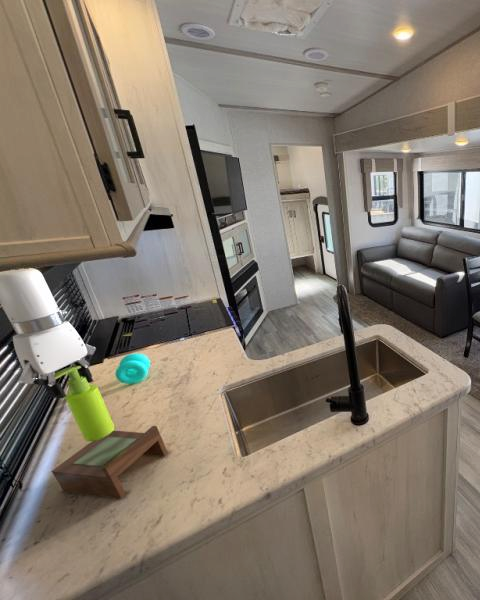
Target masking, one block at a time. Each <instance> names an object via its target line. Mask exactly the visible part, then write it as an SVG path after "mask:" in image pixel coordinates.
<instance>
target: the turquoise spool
mask: <svg viewBox="0 0 480 600" xmlns="http://www.w3.org/2000/svg"><path fill="white" fill-rule="evenodd" d="M150 367H151V360H150V359H149V358H148V356H147V355H145V354H143V353H131V354H130V353H129V354H127V355H126V356H124V357H122V359H121V360H120V362H119V363H118V366H117V368H116V370H115V375H114V376H115V378H116V380H117V381H119V383H122V384H126V385H133V384H137V383H140V382H141V381H144V379H145V378H146V377H147V375H148V372H149V368H150Z"/></svg>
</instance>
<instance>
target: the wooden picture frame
mask: <svg viewBox="0 0 480 600" xmlns="http://www.w3.org/2000/svg"><path fill="white" fill-rule="evenodd" d="M164 442H165V441H164V440H163V438H162V436H161V433H160V431H159V429H158V426H157V425H152V426H151V427H150V428H148V429H147V430H146V431H144V432H135V431H123V430H113V431H112V432H111V433H110V434H109V435H107V436H105V437H103V438H101V439H99V440H95V441H90V442H89V443H87V444H86V445H85V446H84V447H82V448H81V449H80V450H78V451H77V452H75V453H74V454H72V456H70V457H69V458H67V459H66V460H65V461H63V462H61V464H59V465H57V466H56V467H55V468H53V469H52V470H51V473H52V474H53V476H54V478H55V480H56V481H57V483H58V484H59V486H60V487H61V490H62V491H63V492H67V493H76V494H84V495H90V496H91V495H93V496H100V497H107V498H117V499H122V498H123V497H124V496H126V494H127V493H126V491H125V489H124V487H123V485H122V484H121V481H120V480H119V478H118V476H120V475H121V474H122V473H123V472H124V471H125V470H126V469H128V468H129V467H130V466H131V465H132V464H133V463H134V462H135V461H136V460H138V459H139V458H140V457H141V456H142V455H146V456H155V457H166V456H167V455H168V454H169V452H168V450H167V447H166V445H165V443H164Z"/></svg>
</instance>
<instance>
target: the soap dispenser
mask: <svg viewBox="0 0 480 600" xmlns="http://www.w3.org/2000/svg"><path fill="white" fill-rule="evenodd" d="M80 368H81V366H78V365H71V366H69V367H65V368H62V369H60V370H58V371H56V372H55V380H57V379H60V378H61V377H62V376H65V375H68V377H69V379H68V380H67V382H66V384H67V388H68V389H69V391H70V392H68V393H67V394H66V397H64V398H65V400H66V402H67V405H68V407H69V409H70V411H71V413H72V415H73V418H74V420H75V422H76V424H77V426H78V429H79V430H80V433H81V434H82V437H83V439H84V441H85V442H92V441H95V440H99V439H101V438H103V437H105V436H107V435H109V434H110V433H111V432H112V431H115V425H114V422H113V420H112V418H111V417H112V416H111V415H110V412H109V410H108V408H107V406H106V404H105V401H104V399H103V396H102V394H101V392H100V390H99V386H97V385H96V384H90V383H88V381H87V379H86V377H85V376H80V375H79V373H78V370H77V369H80Z"/></svg>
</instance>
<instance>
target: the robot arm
mask: <svg viewBox="0 0 480 600" xmlns="http://www.w3.org/2000/svg"><path fill="white" fill-rule="evenodd" d="M28 268H29V269H24V268H18V269H19V270H15V269H9V270H10V271H9V270H5V271H0V306H1V308H2V309H3V311H4V313H5V315H6V316H7V319H8V320H9V322H10V324H11V325H12V327H13V329H14V332H15V333H16V335H13V336H12V343H13V347H14V351H15V353H16V356H17V358H18V361H19V363H20V366H21V369H22V371H21V374H20V376H19V378H18V381H17V382H18V383H19V384H25V385H28V384H29V385H37V386H43V387H44V388H45V390H46V392H47V393H48V395H49V397H51V398H53V399H64V398H65V397H66V395H67V394H66V392H65V390H64V389H63V387H62V385H61V383H60V382H57V381H56V379H55V373H56V372H58V371H60V370H62V369H64V367H65V368H66V367H67V366H69V365H71V364H72V366H74V365H78V366H81V368H80V369H77V370H78V373H79V375H80V376H85V377H86V379H87V381H88V383H89V384H91V383H93V382H94V379H93V374H92V373H91V371H90V368H89V367H91V364H90V363H91V360H92V358H93V355H94V354H95V352H96V350H97V348H96V347H95V346H93V345H89V344H87V343H84V341H83V338H82V337H81V335H80V334H79V333H78V331H77V330H76V329H75V327H74V326H73V325H72V324H71V323H70V322H69V321H68V320H65V316H67V315H68V311H67V310H66V309H62V310H61V309H60V308H59V306H58V304H57V302H56V299H55V298H54V295H53V293H52V292H51V289H50V287H49V285H48V283H47V282H46V279H45V277H44V275H43V274H42V272H41V271H40V270H39V269H37V268H32V267H28ZM36 374H38V378H35V377H33V375H36Z"/></svg>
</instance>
